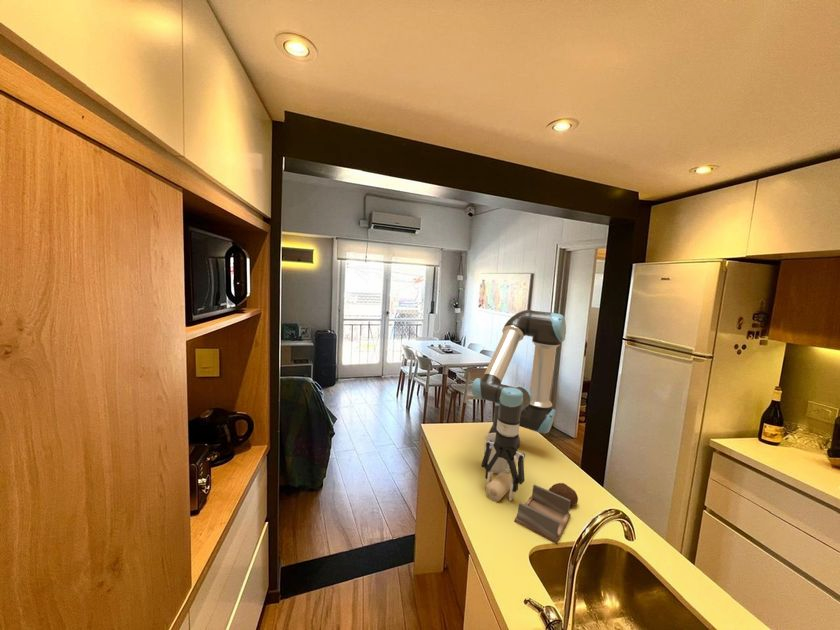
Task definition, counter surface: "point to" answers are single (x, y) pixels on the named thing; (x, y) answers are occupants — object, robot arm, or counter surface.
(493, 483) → the roll
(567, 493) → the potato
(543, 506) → the cradle
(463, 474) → the counter surface
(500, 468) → the mug
